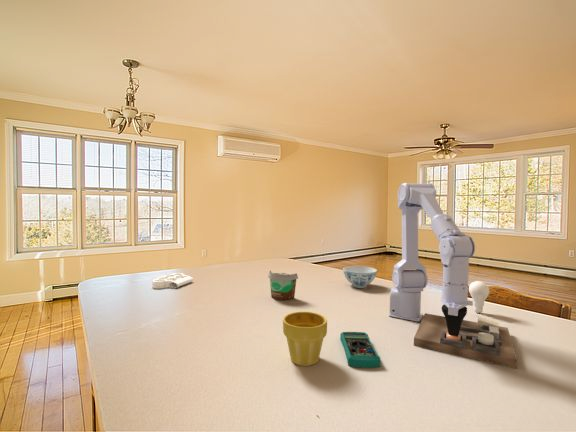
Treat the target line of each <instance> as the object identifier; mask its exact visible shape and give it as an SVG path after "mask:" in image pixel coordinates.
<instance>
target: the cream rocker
mask: <svg viewBox="0 0 576 432" xmlns="http://www.w3.org/2000/svg"><path fill="white" fill-rule="evenodd" d="M476 322H477V325H480V326H483V325H486V326H492V327H497V328H498V330H499V326H500V323H499V322H498V321H495V320H492V319H490V318H486V317H482V316H479V315H478V316H477V320H476Z"/></svg>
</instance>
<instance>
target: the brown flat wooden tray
mask: <svg viewBox="0 0 576 432" xmlns="http://www.w3.org/2000/svg"><path fill="white" fill-rule="evenodd" d="M447 332H448V329H447V323H446V319H445V316H444V315H443V316H442V315H439V314H437V315H436V314H432V313H427V312H424V313H423V316H422V318H421V320H420V323H419V325H418V328H417V330H416V332H415V335H414V337H413V346H416V347H421V348H424V349H429V350H434V351H438V352H441V353H446V354H450V355H455V356H460V357H463V358H469V359H473V360H477V361H478V360H479V361H482V362H487V363H490V364H495V365H499V366H502V367H504V366H505V367H508V368H512V369H517V366H518V358H517V355H516V351H515V348H514V345H513V340H512V339H511V337H512V336H511V334H510V331H509V328H508V327H505V326H500V325H499V340H494V342H493V345H485V344H482V343H480V342H478V333H480V332H484V333H489V326H486V325H483V326H480V325H477V321H471V320H467V319H466V320H465V319H463V321H462V323H461V327H460V332H459V335H460V336H461V337H460V341H456V340H451V339H447V338H446V333H447Z"/></svg>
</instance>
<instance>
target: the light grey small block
mask: <svg viewBox="0 0 576 432" xmlns="http://www.w3.org/2000/svg"><path fill="white" fill-rule="evenodd" d="M489 334H491V335H493V336H494V340H499V330H498V328H497V327H492V326H489Z"/></svg>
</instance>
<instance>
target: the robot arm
mask: <svg viewBox="0 0 576 432" xmlns="http://www.w3.org/2000/svg"><path fill="white" fill-rule="evenodd" d="M397 208H398V209H399V210H400V211H401V260H400V261H398V262H397V263H396V264H394V265H393V272H392V275H391V276H392V277H391V279H392V284H393V286H394V287H391V290H390V295H389V315H388V316H389V317H392V318H398V319H402V320H408V321H413V322H420V323H421V321H422V319H423V317H424V313H423V312H421V307H422V306H421V303H422V302H421V301H422V292H424V289H425V288H427V285H428V281H429V280H428V275H427V271H426V269H427V268H426V266H425V265H424V264H423V263H422V262H420V261H419V218H418V217H419V216H418V215H419V213H420V211H422V210H424V212H425V213H426V214H427V216H428V217H429V218H430V220H431V221H430V228H431V230H432V231H433V233H434V235H435V236H436V238H437V241H438V242H439V245H438V251H439V254H440V262H441V264H443V266H442V267H443V269H442V293H441V295H442V296H441V299H440V301H441V302H442V303H443V304H442V306H441V311H442V313H443V316H444V317H445V319H446V323H447V329H448V333H449V335H452V336H457V337H458V335H459V332H460V327H461V323H462V321H463V320H465V319H464V318H465V317H466V315H467V312H468V307H467V306H469V307H470V306H472V307H473V306H474V304H473V300H469V298H468V297H469V295H468V294H469V271H470V269H469V268H470V266H469V265H470V258H472V257H473V256H474V254H475V252H476V245H475V241H474V239H473V237H472V236H470V235H468V234H466V233H464V232H461V230H460V228H459V227H458V225H457V224H456V222H455V221H454V219H453V217H452V216H451V215H449V214H447V213H445V214H444V212H443V210H442V208H441V205H440V204H439V202H438V199H437V189H436V187H435V185H434V183H414V182H413V183H412V182H411V183H410V182H409V183H408V182H402V183H401V184H400V186H399V188H398V190H397Z"/></svg>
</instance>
